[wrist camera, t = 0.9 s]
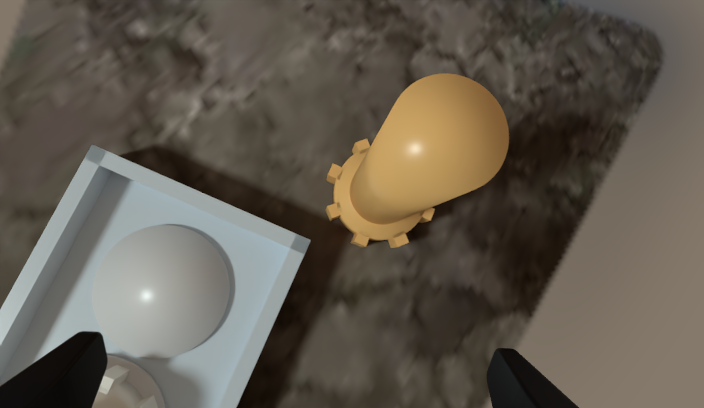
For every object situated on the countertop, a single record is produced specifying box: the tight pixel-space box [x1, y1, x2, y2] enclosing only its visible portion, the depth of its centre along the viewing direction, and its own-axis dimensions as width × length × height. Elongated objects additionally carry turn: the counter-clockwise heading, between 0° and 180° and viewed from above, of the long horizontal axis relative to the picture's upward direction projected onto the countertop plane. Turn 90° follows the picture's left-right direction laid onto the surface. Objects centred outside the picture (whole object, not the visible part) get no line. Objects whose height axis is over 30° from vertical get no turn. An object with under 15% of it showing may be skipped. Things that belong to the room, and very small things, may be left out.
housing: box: [0, 145, 311, 408], centre depth 20 cm, size 18×12×5 cm, turn 157°
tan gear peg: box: [326, 74, 509, 248], centre depth 19 cm, size 6×6×13 cm
